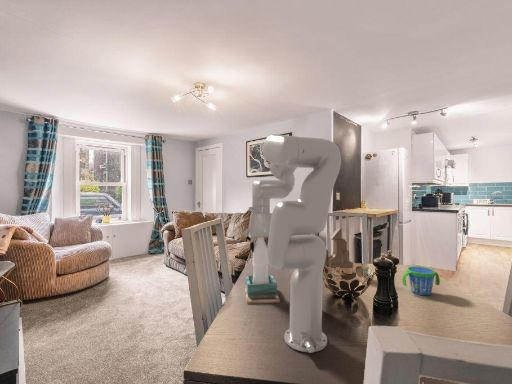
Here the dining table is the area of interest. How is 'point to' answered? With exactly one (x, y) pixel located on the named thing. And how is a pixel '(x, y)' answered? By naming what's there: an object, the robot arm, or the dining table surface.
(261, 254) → the water bottle
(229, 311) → the dining table surface
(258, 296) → the bottle stand
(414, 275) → the snack cup
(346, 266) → the wooden toy
